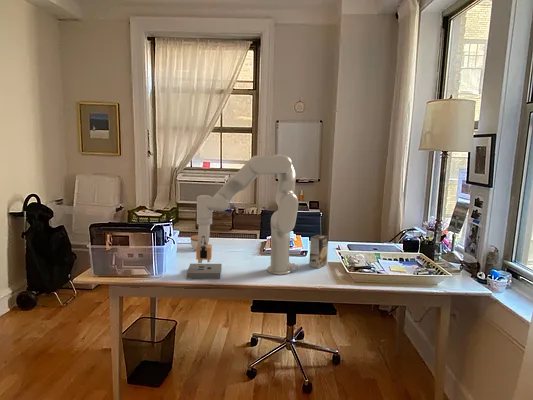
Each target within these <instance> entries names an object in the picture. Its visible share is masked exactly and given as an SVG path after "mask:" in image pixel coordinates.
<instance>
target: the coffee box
mask: <svg viewBox="0 0 533 400" xmlns="http://www.w3.org/2000/svg"><path fill="white" fill-rule="evenodd" d="M328 247H329V235H323V234H317V235H313V236H311V237H310V247H309V267H311V268H314V269H315V268H317V269H320V268H322V267H325V266H327V264H328V252H329V251H328V250H329V248H328Z"/></svg>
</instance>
